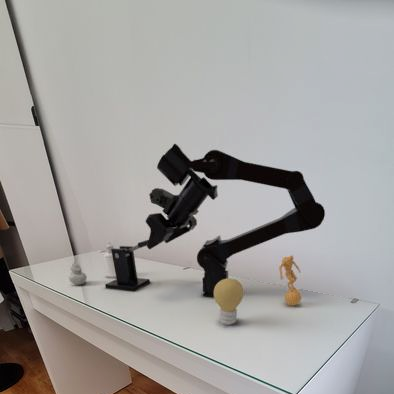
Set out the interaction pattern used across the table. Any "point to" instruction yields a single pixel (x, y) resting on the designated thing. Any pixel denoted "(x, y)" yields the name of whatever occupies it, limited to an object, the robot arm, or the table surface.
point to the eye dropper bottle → (109, 261)
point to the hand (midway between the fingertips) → (157, 244)
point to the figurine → (293, 294)
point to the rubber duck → (77, 274)
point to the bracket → (125, 271)
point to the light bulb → (228, 299)
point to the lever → (136, 247)
